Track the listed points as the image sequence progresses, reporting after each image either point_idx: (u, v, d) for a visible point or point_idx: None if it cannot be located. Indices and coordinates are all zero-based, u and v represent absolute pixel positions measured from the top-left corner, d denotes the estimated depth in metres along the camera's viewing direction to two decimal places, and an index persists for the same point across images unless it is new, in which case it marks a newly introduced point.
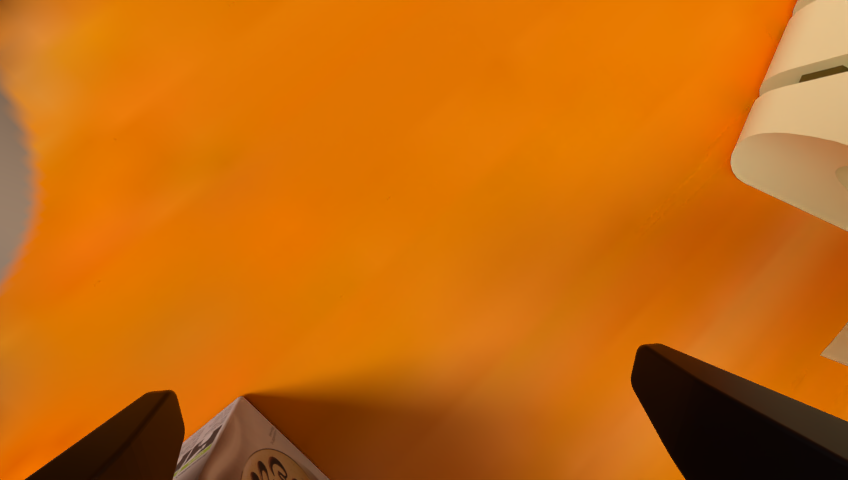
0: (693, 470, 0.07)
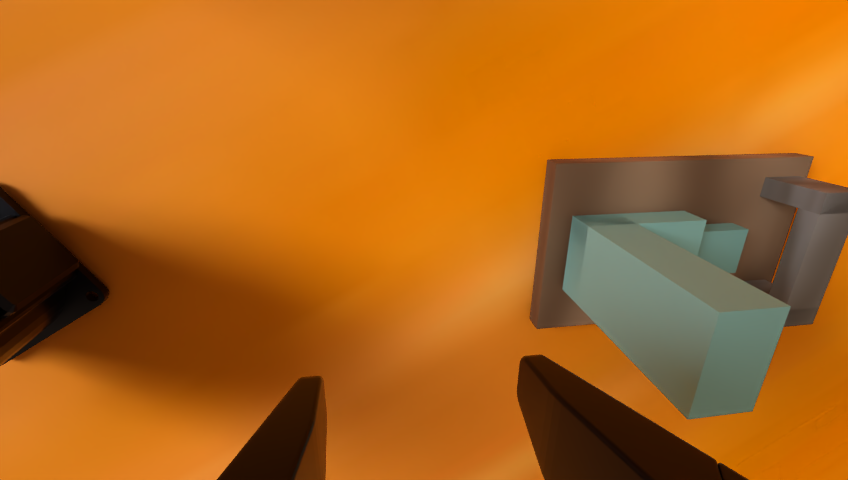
0: None
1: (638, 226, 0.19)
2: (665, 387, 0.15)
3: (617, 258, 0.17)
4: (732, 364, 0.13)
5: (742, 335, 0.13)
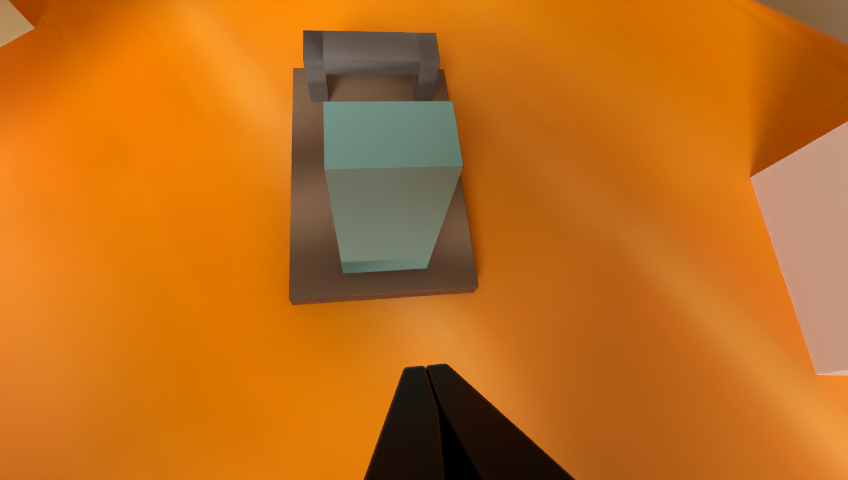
0: None
1: None
2: (446, 186, 0.14)
3: (350, 239, 0.17)
4: (390, 138, 0.13)
5: (354, 138, 0.13)
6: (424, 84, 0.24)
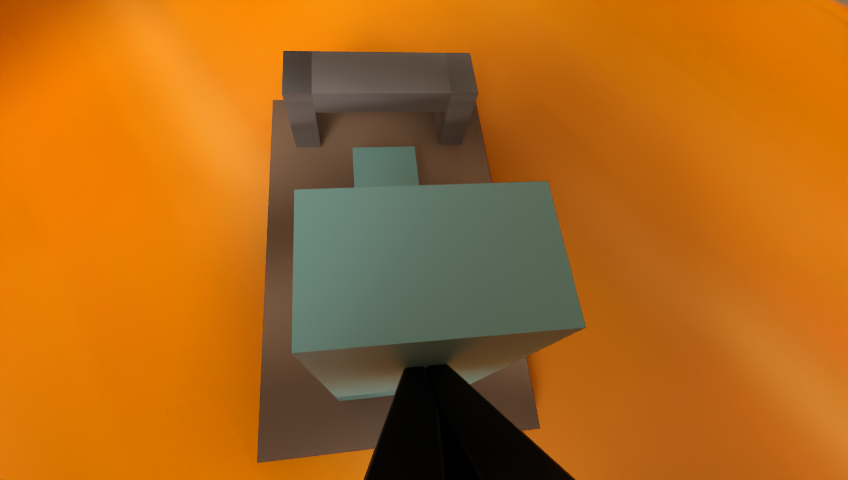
0: None
1: None
2: (536, 345, 0.07)
3: (349, 387, 0.10)
4: (433, 270, 0.06)
5: (358, 271, 0.06)
6: (453, 124, 0.17)
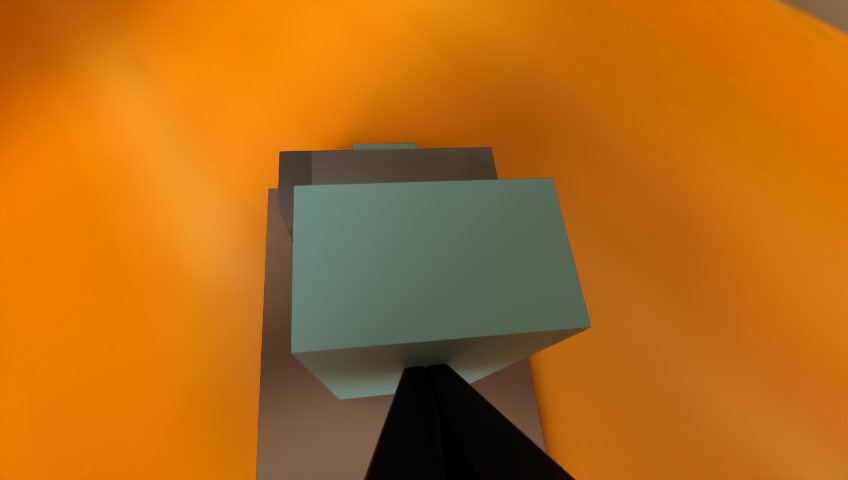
0: None
1: None
2: (540, 344, 0.07)
3: (349, 386, 0.10)
4: (435, 268, 0.06)
5: (358, 269, 0.06)
6: None
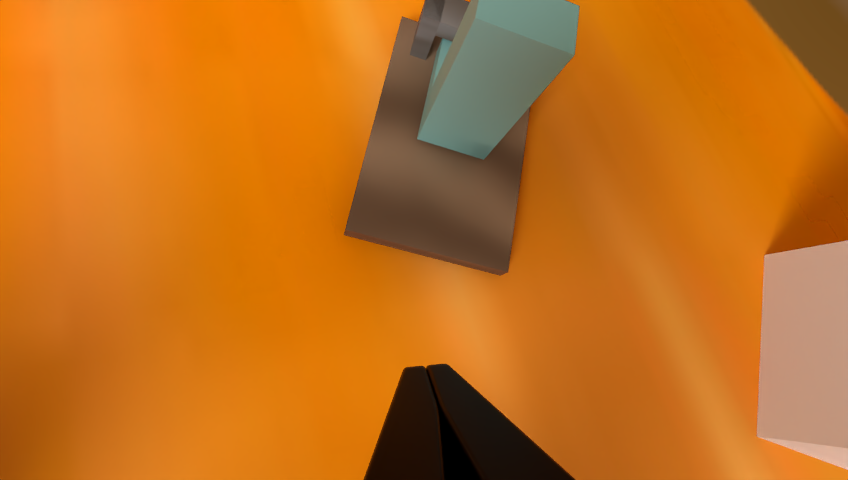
0: None
1: (433, 85, 0.23)
2: (551, 72, 0.17)
3: (446, 101, 0.20)
4: (527, 15, 0.16)
5: (501, 4, 0.16)
6: None
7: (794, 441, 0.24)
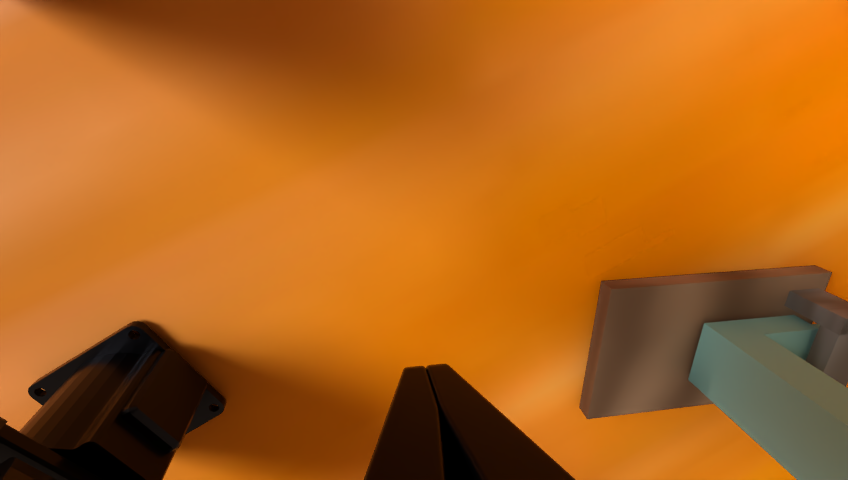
0: None
1: (766, 338, 0.23)
2: None
3: (762, 375, 0.21)
4: None
5: None
6: None
7: None
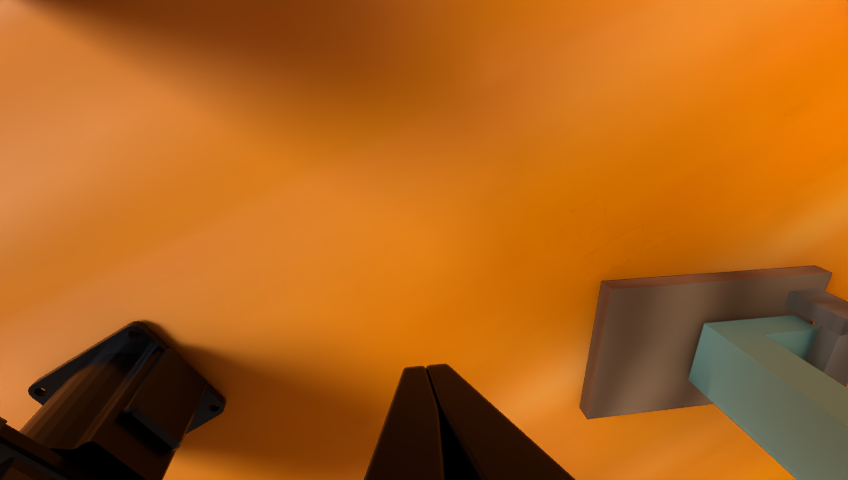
0: None
1: (766, 338, 0.23)
2: None
3: (763, 375, 0.21)
4: None
5: None
6: None
7: None
